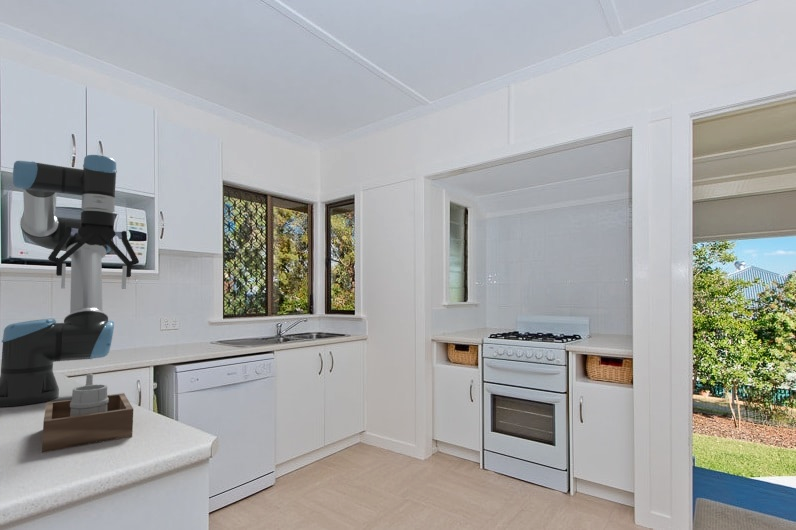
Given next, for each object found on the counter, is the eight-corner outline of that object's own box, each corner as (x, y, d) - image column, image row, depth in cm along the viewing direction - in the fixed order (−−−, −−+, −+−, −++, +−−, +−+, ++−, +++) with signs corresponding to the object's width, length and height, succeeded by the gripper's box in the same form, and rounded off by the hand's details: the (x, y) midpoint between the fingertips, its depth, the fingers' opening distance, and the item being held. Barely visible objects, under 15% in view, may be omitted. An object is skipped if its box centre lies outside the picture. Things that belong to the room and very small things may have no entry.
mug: (66, 440, 90) (69, 382, 91) (66, 426, 99) (69, 374, 100) (110, 433, 95) (112, 378, 95) (106, 420, 104) (108, 370, 105)
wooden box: (44, 428, 99) (46, 402, 100) (123, 417, 109) (124, 393, 109) (41, 452, 85) (43, 421, 85) (132, 436, 94) (133, 408, 95)
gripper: (38, 204, 107) (33, 288, 106) (151, 215, 123) (148, 288, 122) (39, 208, 113) (35, 288, 112) (147, 218, 129) (144, 289, 127)
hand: (94, 288), depth 117 cm, fingers open, 13 cm apart
